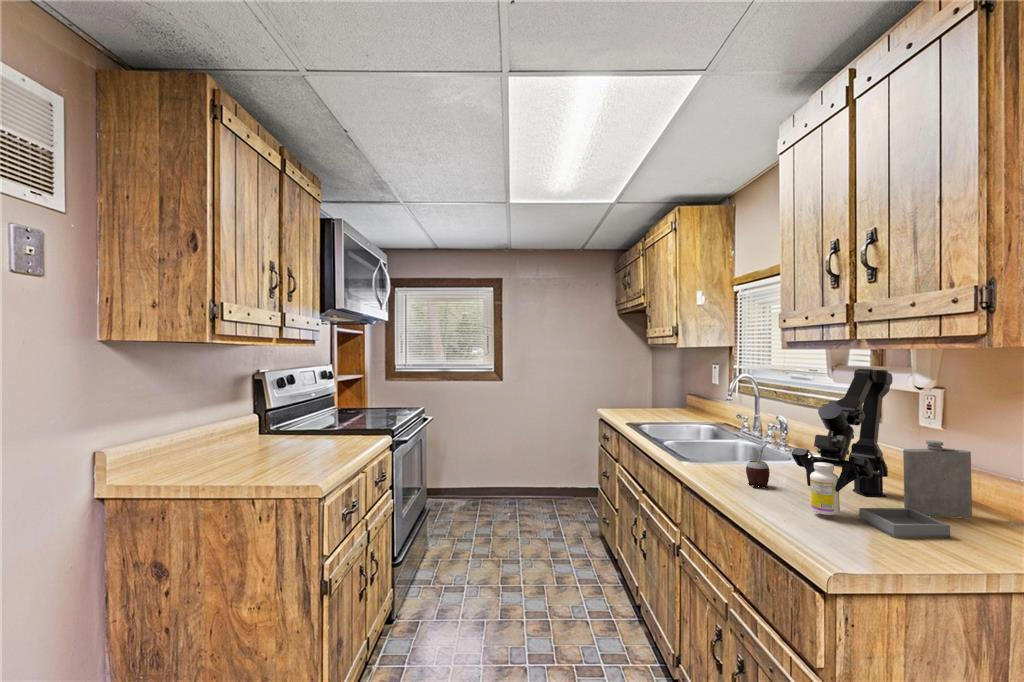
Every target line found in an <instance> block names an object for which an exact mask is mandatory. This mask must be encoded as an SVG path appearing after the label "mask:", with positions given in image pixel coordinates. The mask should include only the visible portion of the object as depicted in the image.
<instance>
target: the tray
mask: <svg viewBox="0 0 1024 682" xmlns="http://www.w3.org/2000/svg"><path fill="white" fill-rule="evenodd" d="M858 515H859V517H858V519H859V521H862V522H863V523H865V524H867V525H869V526H870V527H873V528H875V529H876V530H878V531H880V532H883V533H885V534H886V535H888V536H889V537H891V538H893V539H903V538H904V539H951V525H950V524H947V523H945V522H943V521H941V520H938V519H936V518H935V517H929V516H927V515H925V514H922V513H920V512H918V511H915V510H913V509H911V508H905V507H859V508H858Z"/></svg>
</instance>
